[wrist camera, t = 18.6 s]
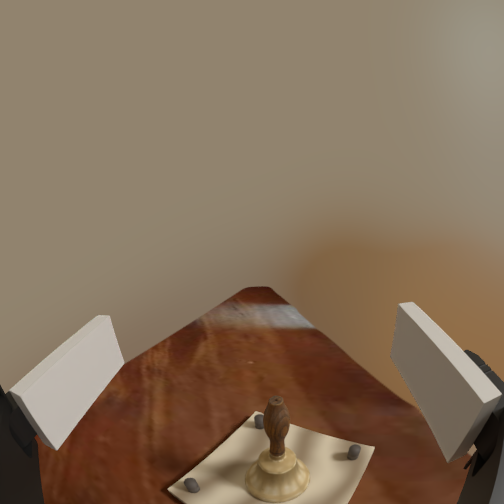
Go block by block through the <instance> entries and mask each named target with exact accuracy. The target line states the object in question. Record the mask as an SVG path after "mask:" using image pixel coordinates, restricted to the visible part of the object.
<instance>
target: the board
mask: <svg viewBox="0 0 504 504" xmlns="http://www.w3.org/2000/svg"><path fill="white" fill-rule="evenodd" d="M263 416H264V414H262V413H260V412H257V411H256V412H255V413H254V414H253V415H252V416H251V417H250V418H249V419H248V420H247V421H246V422H245V423H244V424H243V425H242V426H241V427H240V428H239V429H237V430H236V431H235V432H234V433H233V434H232V435H231V436H230V437H229V438H228V439H227V440H226V441H225V442H224V443H222V444H221V445H220V446H219V447H218V448H217V449H216V450H215V451H214V452H212V453H211V454H210V455H209V456H208V457H207V458H205V459H204V460H203V461H202V462H201V463H200V464H198V465H197V466H196V467H195V468H194V469H192V470H191V471H190V472H189V473H187V474H186V475H185V476H184V477H182V478H181V479H180V480H179V481H177V482H176V483H175V484H173V485H172V486H171V487H169V488H168V491H169V492H170V493H171V494H172V495H173V496H174V497H176V498H177V499H178V500H180V501H181V502H182V503H184V504H348V502H349V500H350V498H351V497H352V495H353V493H354V491H355V489H356V487H357V485H358V483H359V481H360V479H361V477H362V475H363V473H364V471H365V469H366V467H367V465H368V462H369V460H370V458H371V456H372V453H373V451H374V448H375V447H372V446H367V445H362V444H358V443H354V442H350V441H346V440H342V439H338V438H334V437H331V436H327V435H324V434H320V433H317V432H314V431H310V430H307V429H304V428H301V427H298V426H295V425H292V424H290V427H289V431H288V434H287V435H286V437H285V440H284V442H285V447H287V448H289V449H291V450H292V451H293V452H294V453H295V455H296V457H297V459H299V460H301V461H302V462H303V463H304V464H305V465H306V466H307V468H308V469H309V472H310V483H309V485H308V487H307V489H306V490H305V491H304V492H303V493H302V494H301V495H300V496H298V497H297V498H295V499H293V500H290V501H287V502H281V503H270V502H265V501H262V500H260V499H258V498H256V497H254V496H253V495H252V494H251V493H250V492H249V491H248V489H247V487H246V485H245V475H246V472H247V470H248V469H249V467H250V466H251V465H252V464H253V463H254V462H256V461H257V460H258V457H259V455H260V454H261V452H262V451H264V450H265V449H267V448H269V447H270V440H269V438H268V436H267V435H266V433H265V430H264V425H263Z"/></svg>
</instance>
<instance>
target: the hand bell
mask: <svg viewBox="0 0 504 504" xmlns="http://www.w3.org/2000/svg"><path fill="white" fill-rule="evenodd" d="M263 425H264V430H265V433H266V435H267V436H268V438H269V440H270V447H269V448H267V449H265V450H264V451H262V452H261V454H260V455H259V457H258V460H257V461H256V462H254V463H253V464H252V465H251V466H250V467H249V469H248V470H247V472H246V475H245V485H246V487H247V489H248V491H249V492H250V493H251V494H252V495H253V496H254V497H256V498H258V499H260V500H262V501H265V502H270V503H281V502H287V501H290V500H293V499H295V498H297V497H298V496H300V495H301V494H302V493H303V492H304V491H305V490H306V489H307V487H308V485H309V483H310V472H309V469H308V468H307V466H306V465H305V464H304V463H303V462H302V461H301V460H299V459H297V457H296V455H295V453H294V452H293V451H292V450H291V449H289V448H287V447H285V442H284V440H285V437H286V435H287V434H288V431H289V427H290V415H289V412H288V409H287V407H286V406H285V404H284V401H283V398H282V397H280V396H273V397H271V398H270V399H269V402H268V405H267V407H266V409H265V412H264V416H263Z"/></svg>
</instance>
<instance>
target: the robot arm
mask: <svg viewBox="0 0 504 504" xmlns="http://www.w3.org/2000/svg"><path fill="white" fill-rule="evenodd" d="M390 357H391V359H392V360H393V362H394V364H395V366H396V367H397V369H398V371H399V372H400V374H401V376H402V378H403V379H404V381H405V383H406V384H407V386H408V388H409V390H410V392H411V393H412V395H413V397H414V398H415V400H416V402H417V404H418V406H419V408H420V410H421V411H422V413H423V415H424V417H425V419H426V421H427V423H428V425H429V427H430V428H431V430H432V432H433V434H434V436H435V438H436V440H437V442H438V444H439V446H440V448H441V450H442V452H443V454H444V456H445V459H446V461H447V463H449V462H451V461H453V460H455V459H458V458H460V457H462V456H464V455H466V453H467V452H468V451H469V449H470V448H471V446H472V445H473V443H474V445H475V446H476V448H477V450H476V452H475V453H474V454H473V456H472V457H471V458H470V460H469V461H468V462H467V464H466V465H465V467H464V469H467V467H468V466H469V465H470V464H471V465H470V469H469V472H468V475H467V478H466V481H465V484H464V487H463V489H462V492H461V495H460V497H459V500H458V502H457V504H504V382H503V381H502V380H501V379H500V378H499V377H498V376H497V375H496V374H495V373H494V372H493V371H491V368H490V367H489V366H488V365H485V362H484V361H483V360H482V359H481V358H480V357H479V356H478V355H476V354H475V353H472V352H471V351H469V350H465V351H463V350H462V349H461V348H460V347H459V346H458V345H457V344H456V343H455V342H454V341H453V340H452V339H451V338H450V337H449V336H448V335H447V334H446V333H445V332H444V331H443V330H442V329H441V328H440V327H439V326H438V325H437V324H436V323H435V322H434V321H433V320H432V319H430V318H429V316H427V315H426V314H425V313H424V312H423V311H422V310H421V309H420V308H419V307H418V306H417V305H416V304H415V303H414V302H409V303H401V304H398V310H397V317H396V325H395V332H394V338H393V344H392V349H391V355H390ZM123 364H124V360H123V358H122V354H121V352H120V348H119V346H118V342H117V339H116V336H115V333H114V329H113V326H112V322H111V319H110V316H104V315H97V316H96V317H95V318H94V319H92V320H91V321H90V322H89V323H87V324H86V325H85V326H84V327H82V328H81V329H80V330H79V331H78V332H76V333H75V334H74V335H73V336H71V337H70V338H69V339H68V340H67V341H65V342H64V343H63V344H62V345H61V346H59V347H58V348H57V349H56V350H55V351H53V352H52V353H51V354H50V355H49V356H48V357H46V358H45V359H44V360H43V361H42V362H40V363H39V364H38V365H37V366H36V367H35V368H34V369H33V370H31V371H30V372H29V373H28V374H27V375H26V376H25V377H23V378H22V379H21V380H20V381H19V382H18V383H17V384H16V385H14V386H13V387H12V388H11V389H10V390H9V392H7V393H6V394H5V393H4V391H3V389H2V387H1V385H0V504H44V499H43V493H42V486H41V479H40V469H39V458H38V444H37V441H36V440H35V438H34V437H35V436H36V435H38V436H39V437H40V439H41V440H42V441H43V443H44V444H45V445H47V446H49V447H51V448H53V449H55V450H58V449H59V447H60V446H61V445H62V443H63V442H64V441H65V439H66V438H67V437H68V435H69V434H70V433H71V431H72V430H73V429H74V427H75V426H76V425H77V423H78V422H79V421H80V419H81V418H82V417H83V415H84V414H85V413H86V411H87V410H88V409H89V408H90V406H91V405H92V404H93V402H94V401H95V400H96V399H97V397H98V396H99V395H100V393H101V392H102V391H103V390H104V388H105V387H106V386H107V384H108V383H109V382H110V381H111V379H112V378H113V377H114V376H115V374H116V373H117V372H118V371H119V369H120V368H121V367H122V366H123Z"/></svg>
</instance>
